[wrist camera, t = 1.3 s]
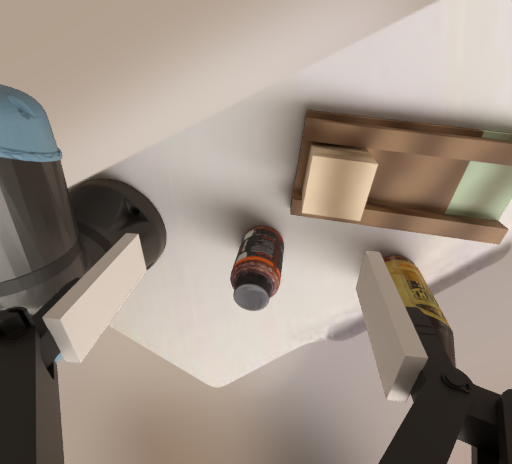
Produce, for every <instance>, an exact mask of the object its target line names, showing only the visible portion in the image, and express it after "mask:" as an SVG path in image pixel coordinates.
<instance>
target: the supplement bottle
mask: <svg viewBox="0 0 512 464" xmlns="http://www.w3.org/2000/svg"><path fill="white" fill-rule="evenodd" d="M283 252H284V242H283V239H282V237H281V236H280V234H279V233H278V232H277V231H275V230H274V229H272V228H269V227H264V226H259V227H255V228H252V229H251V230H249V231H248V232H247V233H246V234H245V236H244V238H243V240H242V243H241V246H240V249H239V252H238V255H237V258H236V260H235V263H234V266H233V269H232V272H231V279H230V280H231V284H232V287H233V289H234V300H235V302H236V303H237V304H238V305H239V306H240V307H241V308H244V309H246V310H250V311H257V310H261V309H263V308H264V307H266V306H267V304H268V302H269V298H271V297H272V296H273V295H274V294H275V293H276V292H277V290H278V288H279V285H280V279H281V270H282V261H283Z"/></svg>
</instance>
